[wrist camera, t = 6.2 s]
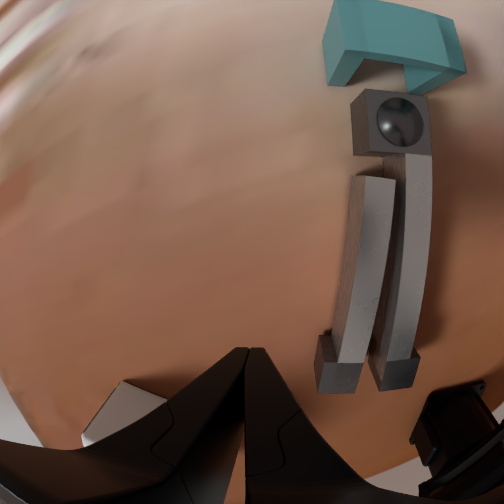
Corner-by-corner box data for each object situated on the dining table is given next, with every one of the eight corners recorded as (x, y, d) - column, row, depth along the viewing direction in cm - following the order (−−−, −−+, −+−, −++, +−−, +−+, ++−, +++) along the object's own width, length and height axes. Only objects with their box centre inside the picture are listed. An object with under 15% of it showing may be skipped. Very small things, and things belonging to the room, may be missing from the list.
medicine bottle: (120, 378, 21) (45, 482, 9) (202, 409, 21) (156, 537, 9) (121, 426, 23) (68, 515, 11) (189, 452, 23) (154, 554, 11)
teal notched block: (322, 41, 13) (335, -6, 8) (414, 52, 13) (452, 19, 8) (327, 85, 14) (345, 49, 9) (421, 95, 13) (466, 72, 8)
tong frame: (350, 104, 14) (366, 87, 11) (413, 110, 14) (440, 98, 11) (342, 363, 18) (351, 396, 15) (396, 358, 18) (412, 388, 15)
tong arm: (337, 174, 15) (349, 173, 12) (376, 178, 15) (395, 179, 12) (313, 364, 18) (317, 393, 15) (346, 364, 18) (354, 393, 15)
